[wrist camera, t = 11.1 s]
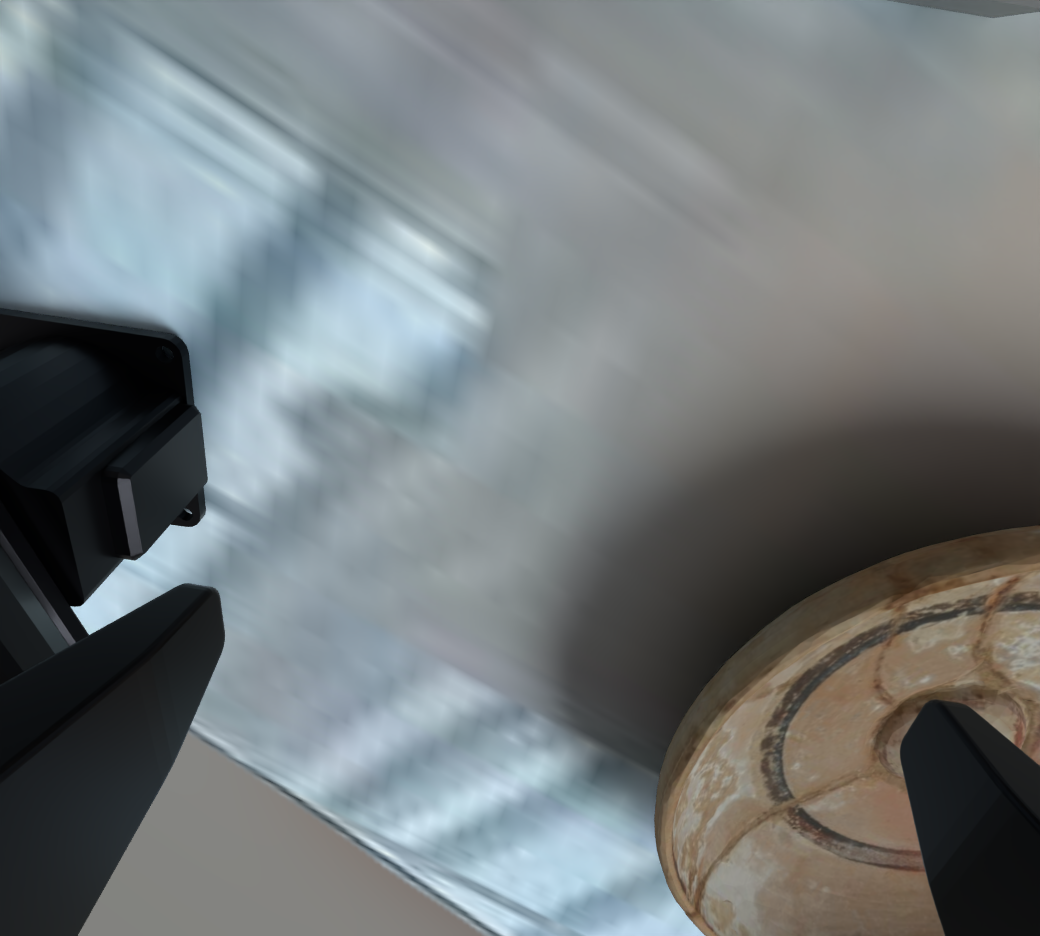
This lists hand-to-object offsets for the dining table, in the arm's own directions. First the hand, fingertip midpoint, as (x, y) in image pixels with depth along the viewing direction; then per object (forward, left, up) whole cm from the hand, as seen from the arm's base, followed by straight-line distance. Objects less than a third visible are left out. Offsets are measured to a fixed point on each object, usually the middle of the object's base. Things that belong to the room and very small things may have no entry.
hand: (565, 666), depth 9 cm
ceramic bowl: (+17, -13, -13) cm, 25 cm away
